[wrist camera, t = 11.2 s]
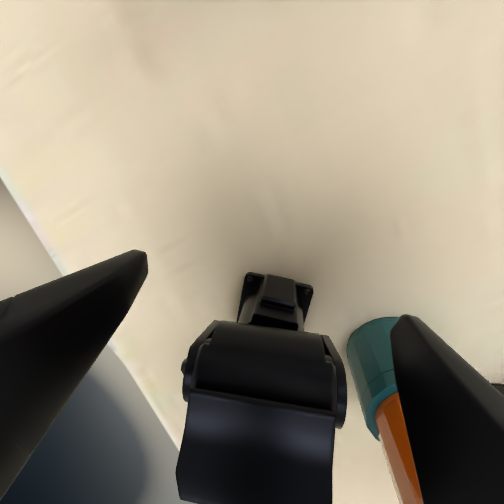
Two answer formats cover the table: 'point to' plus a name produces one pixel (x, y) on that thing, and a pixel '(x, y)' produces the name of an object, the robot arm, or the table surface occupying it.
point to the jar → (372, 366)
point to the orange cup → (397, 450)
